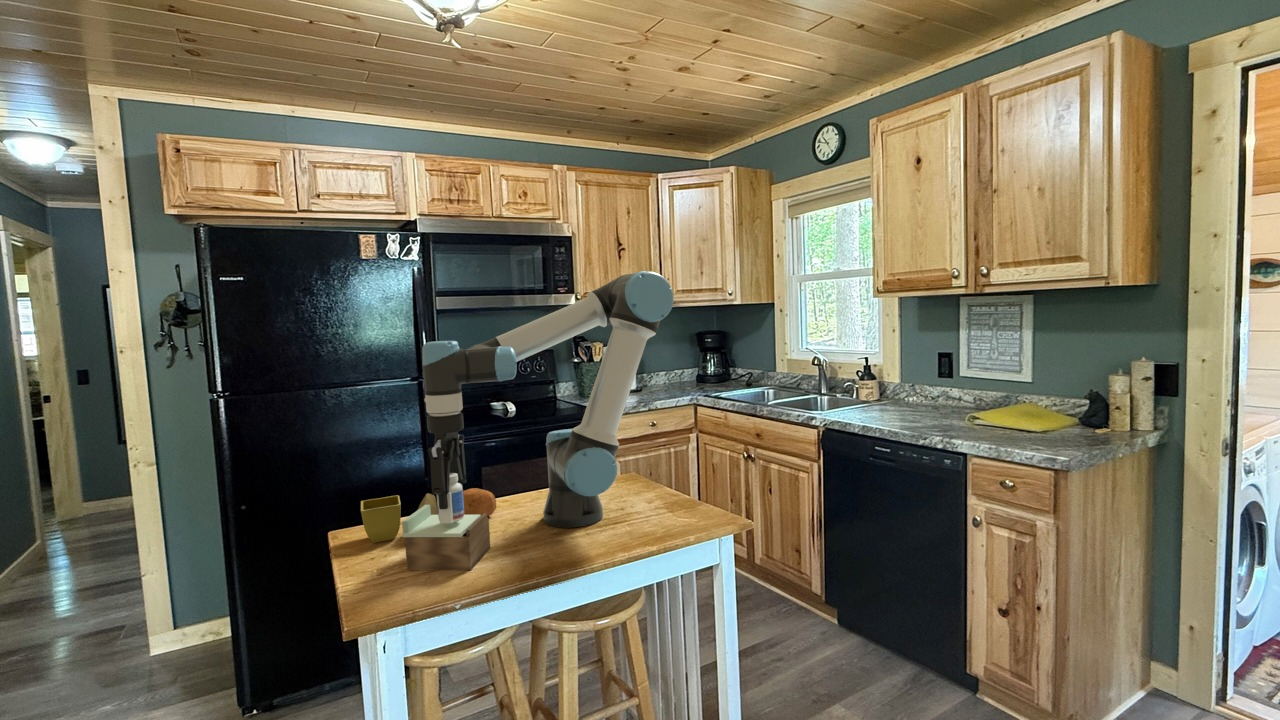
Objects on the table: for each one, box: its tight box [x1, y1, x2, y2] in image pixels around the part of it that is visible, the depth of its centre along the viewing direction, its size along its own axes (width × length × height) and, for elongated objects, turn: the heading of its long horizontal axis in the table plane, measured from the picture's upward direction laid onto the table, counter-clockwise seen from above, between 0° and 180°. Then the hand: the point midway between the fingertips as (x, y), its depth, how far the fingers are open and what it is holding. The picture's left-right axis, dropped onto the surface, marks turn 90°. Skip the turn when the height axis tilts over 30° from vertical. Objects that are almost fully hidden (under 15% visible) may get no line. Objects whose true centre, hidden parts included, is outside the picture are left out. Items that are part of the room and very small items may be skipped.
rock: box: [417, 492, 438, 515], centre depth 152 cm, size 11×9×10 cm
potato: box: [463, 487, 497, 517], centre depth 166 cm, size 9×11×8 cm
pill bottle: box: [436, 473, 464, 522], centre depth 137 cm, size 6×5×10 cm
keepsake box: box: [404, 513, 491, 571], centre depth 138 cm, size 14×12×8 cm
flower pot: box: [360, 494, 402, 544], centre depth 152 cm, size 9×9×9 cm
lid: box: [401, 505, 481, 538], centre depth 138 cm, size 13×12×3 cm
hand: (452, 517), depth 137 cm, fingers closed on pill bottle, 5 cm apart
